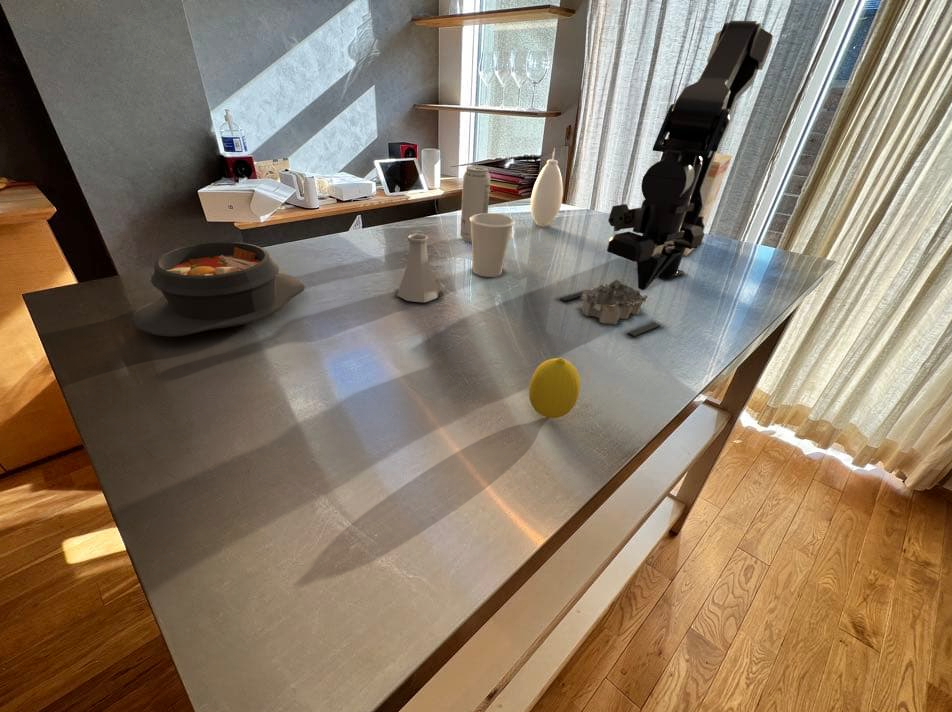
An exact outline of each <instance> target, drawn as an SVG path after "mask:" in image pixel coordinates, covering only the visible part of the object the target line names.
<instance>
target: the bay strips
mask: <svg viewBox="0 0 952 712" xmlns="http://www.w3.org/2000/svg"><path fill="white" fill-rule="evenodd" d="M582 293H583V291H580V292H577V293H572V294H570V295H565V296H563V297H560V298H559V300H560V301H561V302H563V303H566V302H571V301H574V300H577V299H581V296H582ZM658 328H661V324H659V323H657V322H651V323H648V324H646V325H644V326H641V327H638V328H637V329H633V330H631V331H628V332H627V335H628V336H631V337H633V338H635V337H638V336H640V335H644V334H646V333H648V332H651V331H653V330H655V329H658Z"/></svg>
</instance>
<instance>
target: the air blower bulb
mask: <svg viewBox="0 0 952 712" xmlns="http://www.w3.org/2000/svg"><path fill="white" fill-rule="evenodd" d="M555 153H556V147H554V148H553V151H552V156H551V158H550V159H548V160H546V164H545V165H544V167H542V169H541V170H540V172H539V174H538V176H537V178H536V180H535V182H534V185H533V188H532V192H531V196H530V214H531V217H532V220H533V221H534V222H535V224H536V225H537V226H539V227H542V228H544V227H547V226H549V225H550V223H553V222H554V221H555V219H557V216H558V215H559V213H560V209H561V207H562V202H563V194H564V187H563V186H564V185H563V178H562V177H563V176H562V174H561V170H560V167H559V165H558V163H559V161H558V160H557V159H555Z"/></svg>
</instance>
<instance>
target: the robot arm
mask: <svg viewBox="0 0 952 712" xmlns="http://www.w3.org/2000/svg"><path fill="white" fill-rule="evenodd" d="M773 37H774V36H773V34H772V33H771V32H768V31H767V30H765V29H763V27H762V23H761V22H758V20H730V21H729V22H725V23H724V24H723V26H722V29H721V30H719V31H718V32H717V33H715V36H714V39H713V42H712V45H711V48H710V51H709V54H708V55H707V56H708V57H707V59H706V61H707V63H706V65H705V67H704V68H703V71H702V72H701V75H700V76H699V78H698V80H697V81H696V82H694V83H692V84H690V85H688V86H686V87H684V88H683V89H682V91H681V92H680V94H679V96H678V97H677V99H676V100H675V102H674V103H671V104H670V106H669V108H668V110H667V112H666V115H665V118H664V120H663V122H662V124H661V127H660V129H659V132H658V134H657V136H656V139H655V141H654V143H653V147H652V152H658V153H659V152H660V153H662V154H661V157H660V160H659V161H656V162H655V163H654V164H652V165H651V166H650V167H649V168H648V169H647V170H646V172H645V173H644V175H643V177H642V179H641V193H642V196H643V199H644V200H643V201H642V202H641V207H635V208H629V207H628V204H627V203H623V204H618V205H612V208H611V210H610V212H609V217H608V220H607V221H608V223H609V226H611V227H613V231H614V232H620V231H621V230H628V229H632V232H631V231H624V232H620V233H615V234H614V235H612V236H611V237H609V239H608V244H607V247H606V252H607V253H610V254H612V255H615V256H618V257H620V258H624V259H626V260H628V261H631V262H634V263H635V262H636V269H637V271H636V273H637V289H638V290H639V291H646V290H647V289H648V288H649V286H651V284H653V282H654V281H655V280H656V279H657V278H658V277H659V278H661V279H664V280H670V279H673V278H676V277H679V276H682V275H684V274H685V271H684V270H682V269H679V268H680V266H681V263H682V260H683V257H684V256H685V255H684V252H685V249H686V248H689V249H691V250H692V248H694V249H698V247H699V246H701V245H702V242H703V240H704V237H705V230H704V226H705V225H704V223H703V222H704V221H703V219H704V217H703V216H701V215H702V213H703V210H704V204H703V198H702V192H701V191H702V188H703V186H704V183H705V181H706V178H707V175H708V173H709V170H710V167H711V165H712V162H713V159H714V157H715V154H716V153H717V152H718V151H719V148H720V145H721V143H722V141H723V140H724V136H725V134H726V133H727V130H728V127H729V125H730V122H731V115H732V112H733V110H734V107H735V104H736V102H737V100H738V99H740V98H741V96H743V94H744V93H745V92H746V91H748V89H749V88H750V87H751V86H753V83H754V81H755V78H756V76H757V74H758V71H762V70H763V68H764V66H765V64H766V62H767V59H768V57H769V54H770V51H771V49H772V44H773ZM703 230H704V232H703ZM692 251H693V250H692Z"/></svg>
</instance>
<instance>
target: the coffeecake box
mask: <svg viewBox="0 0 952 712" xmlns="http://www.w3.org/2000/svg"><path fill="white" fill-rule="evenodd" d="M732 158H733V155H730V154H724V153H723V154H722V153H717V152H716V154H715V157H714V159H713V162H712V165H711V167H710V170H709V173H708V175H707V178H706V181H705V183H704V186H703V188H702V191H701V192H702V198H703V204H704V210H703V213H702V215H701V216H703V217H704V219H703V221H704V222H703V223H704V225H705V226H704V230H703V232H704V233H705V230H706V227H707V224H708V221H709V219H710V216H711V214H712V211H713V208H714V205H715V204H716V200H717V198H718V195H719V193H720V189H721V186H722V184H723V181H724V179H725V176H726V173H727V171H728V168H729V165H730V162H731V160H732ZM694 249H695V248H692V250H691V249H689V248H686V249H685V252H684V255H683V256H685V257H686V256H688V255H689V254H690V253H691V252H692V251H693V250H694Z"/></svg>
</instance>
